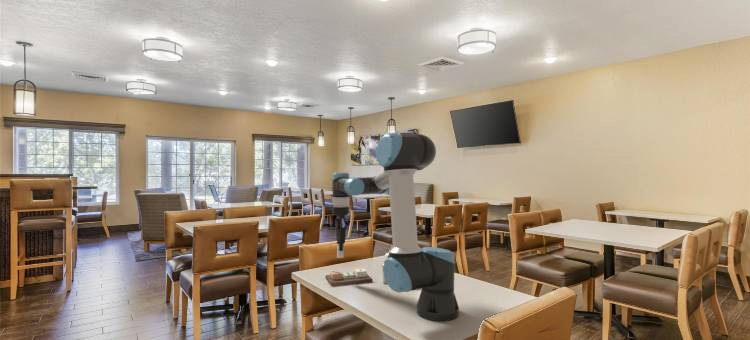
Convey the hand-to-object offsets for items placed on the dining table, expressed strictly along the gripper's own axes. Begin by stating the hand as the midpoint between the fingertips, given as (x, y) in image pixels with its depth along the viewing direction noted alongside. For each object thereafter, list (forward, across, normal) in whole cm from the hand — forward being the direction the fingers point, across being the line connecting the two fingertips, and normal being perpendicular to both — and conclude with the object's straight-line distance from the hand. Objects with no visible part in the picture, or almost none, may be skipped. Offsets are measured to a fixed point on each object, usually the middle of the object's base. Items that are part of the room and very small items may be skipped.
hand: (340, 257), depth 172 cm
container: (+11, -8, -22) cm, 26 cm away
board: (+11, 0, -4) cm, 11 cm away
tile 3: (+9, 0, +2) cm, 9 cm away
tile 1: (+9, 0, -10) cm, 13 cm away
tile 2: (+10, 0, -4) cm, 11 cm away
